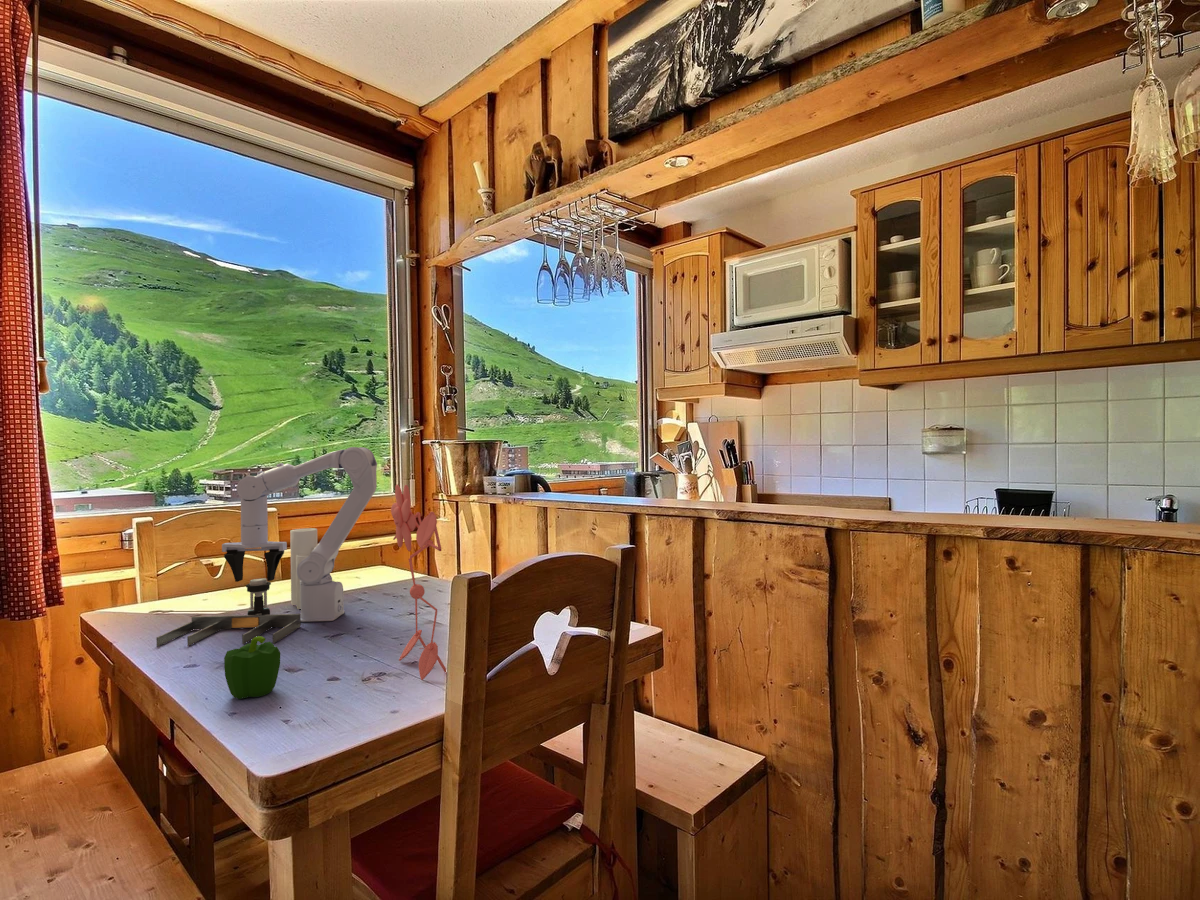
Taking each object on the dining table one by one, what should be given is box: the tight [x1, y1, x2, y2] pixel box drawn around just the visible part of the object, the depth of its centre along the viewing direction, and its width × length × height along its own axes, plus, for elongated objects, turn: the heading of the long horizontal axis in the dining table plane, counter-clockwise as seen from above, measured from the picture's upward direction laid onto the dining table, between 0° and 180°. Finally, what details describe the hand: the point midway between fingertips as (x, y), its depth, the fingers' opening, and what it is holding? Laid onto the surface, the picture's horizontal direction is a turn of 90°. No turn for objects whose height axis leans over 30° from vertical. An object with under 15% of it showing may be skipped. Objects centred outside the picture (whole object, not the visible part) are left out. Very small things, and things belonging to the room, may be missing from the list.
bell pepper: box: [223, 635, 281, 700], centre depth 103 cm, size 8×8×10 cm
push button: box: [245, 577, 272, 615], centre depth 149 cm, size 7×5×10 cm
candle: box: [289, 527, 318, 610], centre depth 164 cm, size 11×7×20 cm, turn 41°
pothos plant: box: [390, 483, 447, 681], centre depth 112 cm, size 15×26×35 cm, turn 32°
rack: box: [156, 613, 302, 647], centre depth 136 cm, size 25×13×3 cm, turn 93°
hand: (254, 580), depth 149 cm, fingers open, 7 cm apart
